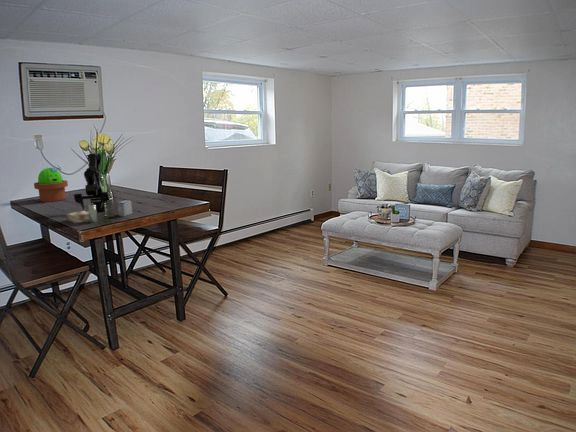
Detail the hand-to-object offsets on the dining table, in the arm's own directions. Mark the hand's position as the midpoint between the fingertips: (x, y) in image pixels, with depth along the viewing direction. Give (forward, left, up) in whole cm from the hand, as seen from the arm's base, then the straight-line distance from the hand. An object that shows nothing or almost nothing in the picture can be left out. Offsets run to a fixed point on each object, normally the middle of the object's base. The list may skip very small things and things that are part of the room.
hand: (92, 208), depth 256 cm
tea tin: (0, 0, -8) cm, 8 cm away
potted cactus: (+14, -97, -8) cm, 99 cm away
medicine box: (-20, -8, -8) cm, 23 cm away
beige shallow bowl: (+6, -11, -8) cm, 15 cm away
